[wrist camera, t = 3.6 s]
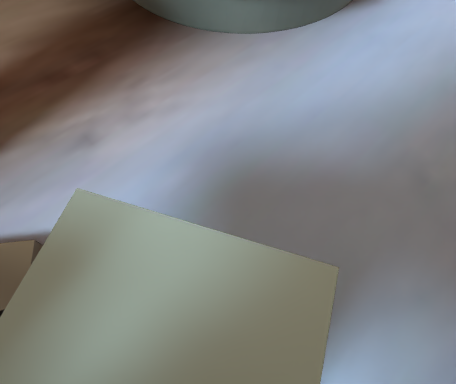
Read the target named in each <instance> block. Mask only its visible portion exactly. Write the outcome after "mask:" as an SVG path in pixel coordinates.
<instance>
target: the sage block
mask: <svg viewBox="0 0 456 384" xmlns="http://www.w3.org/2000/svg"><path fill="white" fill-rule="evenodd" d="M338 271H339V267H336V266H333V265H330V264H326V263H323V262H320V261H316V260H313V259H310V258H306V257H303V256H300V255H297V254H293V253H290V252H287V251H283V250H280V249H277V248H273V247H270V246H267V245H264V244H260V243H257V242H254V241H250V240H247V239H244V238H240V237H237V236H234V235H230V234H227V233H224V232H221V231H217V230H214V229H211V228H207V227H204V226H201V225H197V224H194V223H191V222H187V221H184V220H181V219H178V218H174V217H171V216H168V215H164V214H161V213H158V212H154V211H151V210H148V209H144V208H141V207H138V206H135V205H131V204H128V203H125V202H121V201H118V200H115V199H111V198H108V197H105V196H101V195H98V194H95V193H92V192H88V191H85V190H82V189H78V188H77V189H76V191H75V192H74V194H73V196H72V197H71V199H70V201H69V202H68V204H67V206H66V207H65V209H64V211H63V213H62V214H61V216H60V218H59V219H58V221H57V223H56V224H55V226H54V228H53V229H52V231H51V233H50V234H49V236H48V238H47V239H46V241H45V243H44V244H43V246H42V248H41V249H40V251H39V253H38V254H37V256H36V258H35V259H34V261H33V263H32V265H31V266H30V268H29V270H28V271H27V273H26V275H25V276H24V278H23V280H22V281H21V283H20V285H19V286H18V288H17V290H16V291H15V293H14V295H13V296H12V298H11V300H10V301H9V303H8V305H7V306H6V308H5V310H4V311H3V313H2V315H1V317H0V384H320V381H321V375H322V369H323V363H324V357H325V350H326V344H327V338H328V332H329V326H330V320H331V314H332V308H333V301H334V295H335V289H336V283H337V277H338Z"/></svg>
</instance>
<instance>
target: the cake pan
mask: <svg viewBox="0 0 456 384" xmlns="http://www.w3.org/2000/svg"><path fill="white" fill-rule="evenodd" d="M133 1H135V2H136V3H137V4H139V5H140V6H142V7H143V8H145V9H147V10H148V11H150V12H152V13H154V14H156V15H158V16H160V17H163V18H165V19H167V20H170V21H173V22H175V23H178V24H182V25H185V26H189V27H193V28H197V29H202V30H208V31H215V32H224V33H238V34H251V33H267V32H275V31H282V30H288V29H293V28H297V27H301V26H305V25H308V24H311V23H314V22H317V21H319V20H321V19H324V18H326V17H328V16H330V15H332V14H334V13H336V12H337V11H339V10H340V9H342V8H343V7H345V6H346V5H348V4H349V3H350V2H351V1H352V0H133Z"/></svg>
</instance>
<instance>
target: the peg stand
mask: <svg viewBox="0 0 456 384" xmlns="http://www.w3.org/2000/svg"><path fill="white" fill-rule="evenodd" d="M42 246H43V245H42V244H40V243H39V242H37V241H36V240H27V241H17V242H7V243H0V310H3V309H5V308H6V306H7V305H8V303H9V301H10V300H11V298H12V296H13V295H14V293H15V291H16V290H17V288H18V286H19V285H20V283H21V281H22V280H23V278H24V276H25V275H26V273H27V271H28V270H29V268H30V266H31V265H32V263H33V261H34V259H35V258H36V256H37V254H38V253H39V251H40V249H41V248H42Z"/></svg>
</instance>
